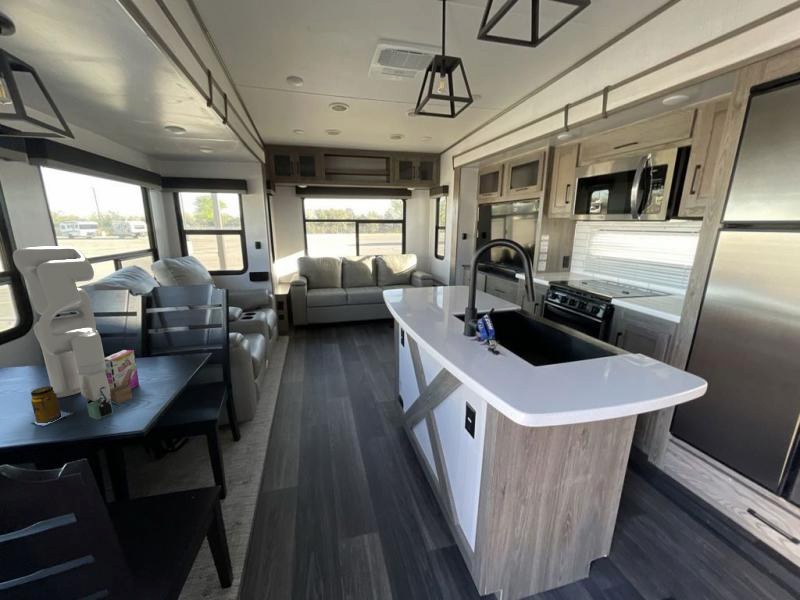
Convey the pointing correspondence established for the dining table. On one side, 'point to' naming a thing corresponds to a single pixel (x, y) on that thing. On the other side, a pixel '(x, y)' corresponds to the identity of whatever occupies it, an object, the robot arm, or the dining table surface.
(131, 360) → the candy bar box
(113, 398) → the walnut block
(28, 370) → the dining table surface
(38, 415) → the condiment
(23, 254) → the robot arm
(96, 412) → the green cube
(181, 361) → the dining table surface
